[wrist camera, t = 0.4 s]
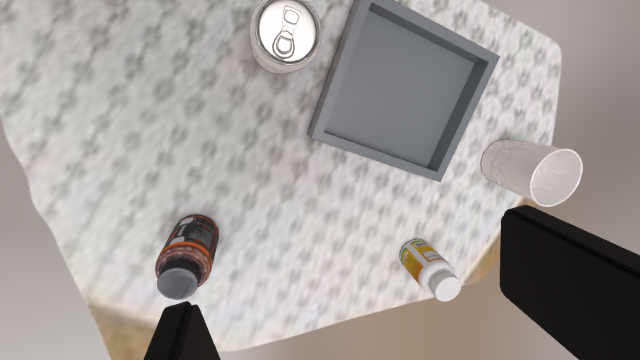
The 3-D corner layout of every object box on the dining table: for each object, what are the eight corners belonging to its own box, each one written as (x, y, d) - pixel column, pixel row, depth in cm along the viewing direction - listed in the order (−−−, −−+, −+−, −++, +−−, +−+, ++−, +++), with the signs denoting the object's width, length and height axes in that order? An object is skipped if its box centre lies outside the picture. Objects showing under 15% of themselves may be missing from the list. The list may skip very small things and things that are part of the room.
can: (245, 64, 37) (241, 56, 26) (258, 7, 35) (260, -27, 24) (296, 80, 38) (313, 80, 27) (310, 27, 37) (335, 4, 26)
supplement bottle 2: (409, 272, 52) (442, 312, 43) (393, 252, 50) (423, 290, 41) (434, 252, 52) (472, 288, 43) (418, 232, 50) (455, 265, 41)
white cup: (486, 192, 50) (539, 217, 41) (470, 154, 47) (523, 172, 38) (526, 165, 50) (588, 184, 41) (511, 125, 47) (575, 136, 38)
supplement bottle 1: (175, 211, 40) (147, 256, 30) (221, 216, 42) (210, 261, 31) (172, 250, 42) (144, 306, 32) (216, 253, 44) (204, 308, 33)
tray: (307, 133, 41) (311, 138, 38) (356, -6, 37) (366, -15, 34) (427, 175, 47) (440, 182, 43) (481, 58, 43) (500, 56, 39)
